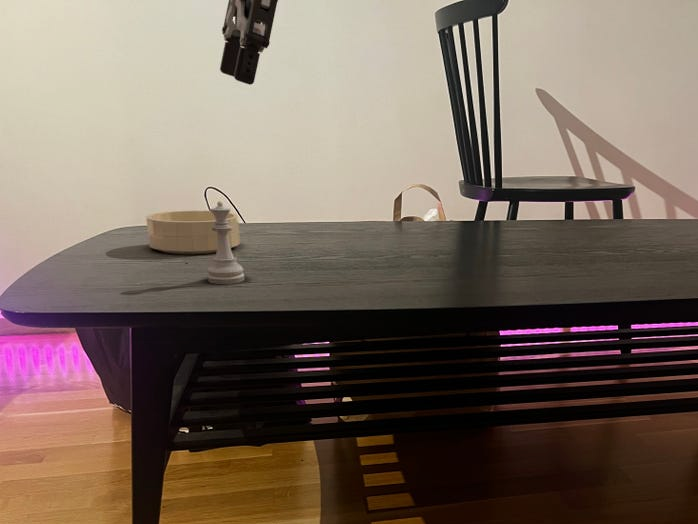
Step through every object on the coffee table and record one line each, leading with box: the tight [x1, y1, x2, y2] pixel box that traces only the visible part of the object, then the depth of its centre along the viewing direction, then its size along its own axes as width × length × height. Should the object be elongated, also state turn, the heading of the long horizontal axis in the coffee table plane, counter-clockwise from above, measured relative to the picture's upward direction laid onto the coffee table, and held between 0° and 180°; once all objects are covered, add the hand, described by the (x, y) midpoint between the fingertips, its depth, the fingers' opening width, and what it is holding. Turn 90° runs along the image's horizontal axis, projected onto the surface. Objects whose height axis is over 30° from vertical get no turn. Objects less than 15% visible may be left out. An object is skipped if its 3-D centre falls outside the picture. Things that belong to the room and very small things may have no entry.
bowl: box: [145, 209, 241, 255], centre depth 109 cm, size 13×13×5 cm
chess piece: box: [207, 201, 245, 285], centre depth 88 cm, size 4×4×10 cm
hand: (235, 78), depth 86 cm, fingers open, 8 cm apart
